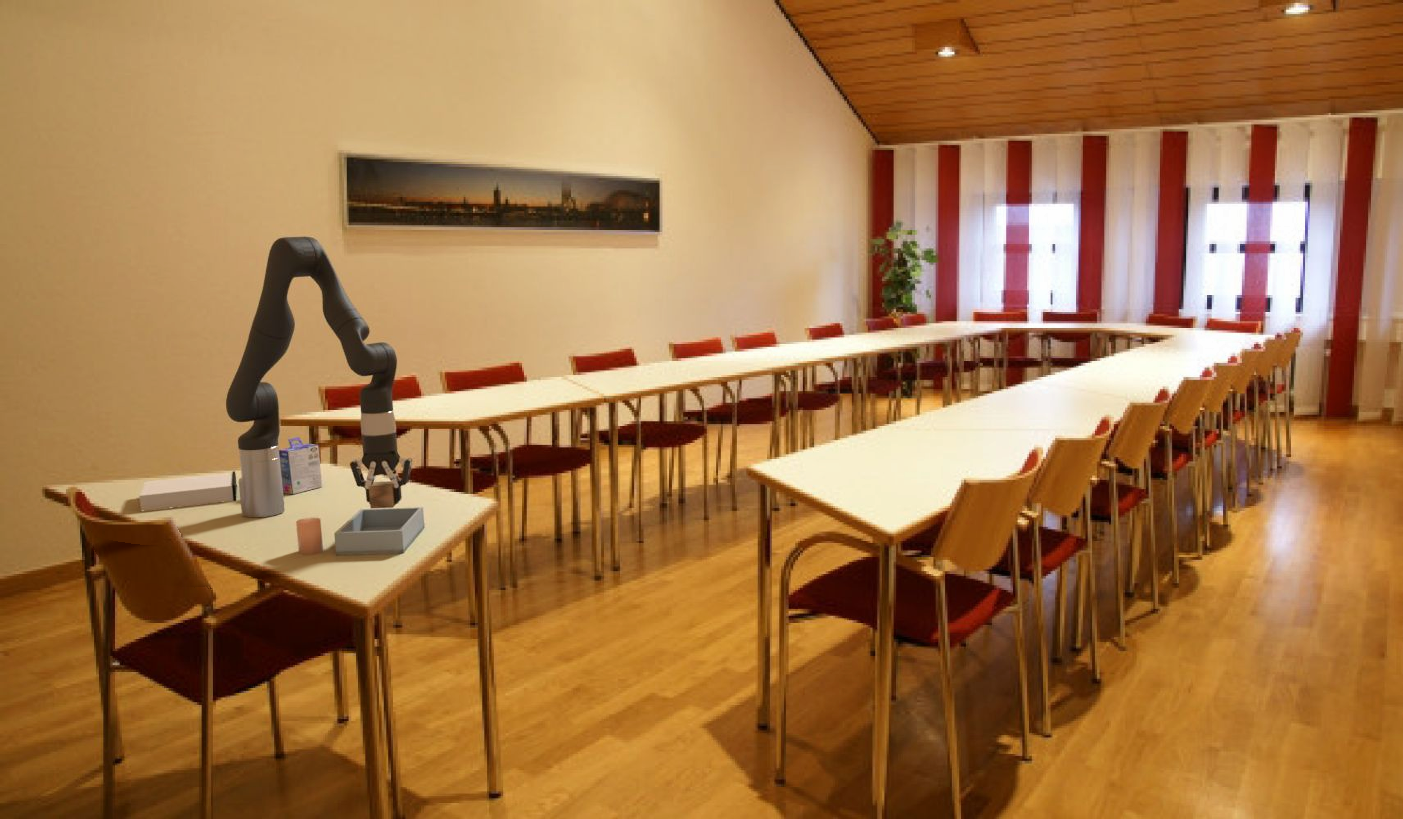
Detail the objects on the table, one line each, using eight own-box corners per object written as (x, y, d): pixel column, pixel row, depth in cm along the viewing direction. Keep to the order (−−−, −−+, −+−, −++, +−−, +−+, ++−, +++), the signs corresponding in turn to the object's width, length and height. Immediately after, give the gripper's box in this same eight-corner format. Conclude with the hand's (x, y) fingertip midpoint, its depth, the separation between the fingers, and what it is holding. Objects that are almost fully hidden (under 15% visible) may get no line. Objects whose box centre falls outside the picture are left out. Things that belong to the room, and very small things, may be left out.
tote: (336, 555, 219) (334, 533, 218) (362, 529, 238) (360, 509, 238) (403, 553, 220) (402, 530, 219) (424, 527, 239) (423, 507, 238)
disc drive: (236, 502, 269) (235, 484, 268) (141, 513, 260) (139, 494, 259) (237, 488, 284) (235, 471, 284) (147, 498, 275) (145, 480, 275)
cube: (370, 508, 229) (368, 487, 228) (376, 502, 234) (374, 481, 233) (392, 507, 229) (390, 486, 228) (398, 502, 234) (396, 481, 233)
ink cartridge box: (311, 484, 284) (306, 434, 282) (323, 487, 282) (319, 436, 279) (280, 492, 276) (275, 441, 274) (293, 495, 273) (288, 442, 271)
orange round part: (295, 555, 220) (292, 524, 219) (303, 548, 225) (300, 517, 224) (318, 554, 220) (315, 523, 219) (326, 547, 225) (323, 517, 224)
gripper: (341, 435, 225) (348, 508, 228) (406, 433, 225) (412, 506, 228) (351, 429, 232) (358, 500, 235) (414, 426, 233) (419, 498, 236)
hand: (384, 503), depth 232 cm, fingers closed on cube, 5 cm apart
